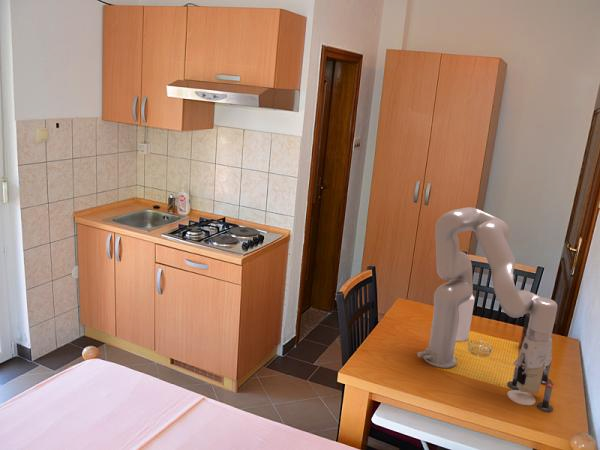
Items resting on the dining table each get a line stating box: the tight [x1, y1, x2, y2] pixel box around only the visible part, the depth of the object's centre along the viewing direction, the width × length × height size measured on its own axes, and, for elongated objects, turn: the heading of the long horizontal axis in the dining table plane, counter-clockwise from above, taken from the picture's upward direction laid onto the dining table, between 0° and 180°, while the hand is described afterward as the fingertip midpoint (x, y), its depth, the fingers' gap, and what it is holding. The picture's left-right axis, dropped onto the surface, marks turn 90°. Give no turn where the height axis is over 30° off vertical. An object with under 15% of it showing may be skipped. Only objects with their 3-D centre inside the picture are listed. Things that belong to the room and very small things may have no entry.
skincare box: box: [517, 362, 545, 395], centre depth 180 cm, size 6×4×12 cm
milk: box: [456, 294, 476, 342], centre depth 223 cm, size 6×6×22 cm
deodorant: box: [519, 313, 530, 350], centre depth 218 cm, size 6×6×15 cm
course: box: [506, 360, 554, 413], centre depth 184 cm, size 19×19×9 cm
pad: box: [507, 389, 536, 406], centre depth 181 cm, size 9×9×1 cm
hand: (529, 381), depth 181 cm, fingers closed on skincare box, 7 cm apart
